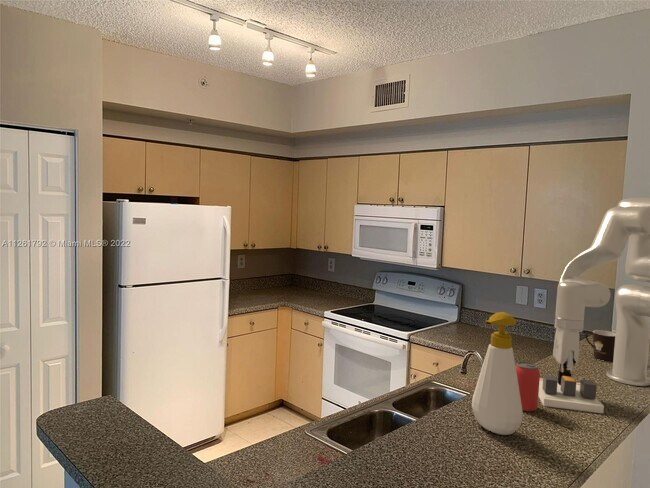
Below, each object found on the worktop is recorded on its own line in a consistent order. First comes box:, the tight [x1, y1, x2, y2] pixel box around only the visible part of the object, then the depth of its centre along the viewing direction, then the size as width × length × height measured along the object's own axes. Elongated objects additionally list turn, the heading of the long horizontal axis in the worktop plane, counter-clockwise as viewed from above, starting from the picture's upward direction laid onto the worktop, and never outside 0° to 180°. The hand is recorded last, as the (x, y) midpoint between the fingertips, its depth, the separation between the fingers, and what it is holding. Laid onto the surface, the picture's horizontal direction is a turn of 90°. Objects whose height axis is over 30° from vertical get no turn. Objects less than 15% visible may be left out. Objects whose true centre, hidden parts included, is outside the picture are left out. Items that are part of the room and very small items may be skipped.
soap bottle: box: [471, 311, 524, 436], centre depth 115 cm, size 13×10×29 cm
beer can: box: [515, 361, 541, 412], centre depth 131 cm, size 7×7×12 cm
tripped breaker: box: [560, 376, 577, 396], centre depth 137 cm, size 4×3×4 cm
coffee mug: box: [584, 329, 616, 362], centre depth 181 cm, size 12×9×10 cm
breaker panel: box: [538, 374, 605, 414], centre depth 139 cm, size 18×15×6 cm
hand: (563, 384), depth 141 cm, fingers closed
